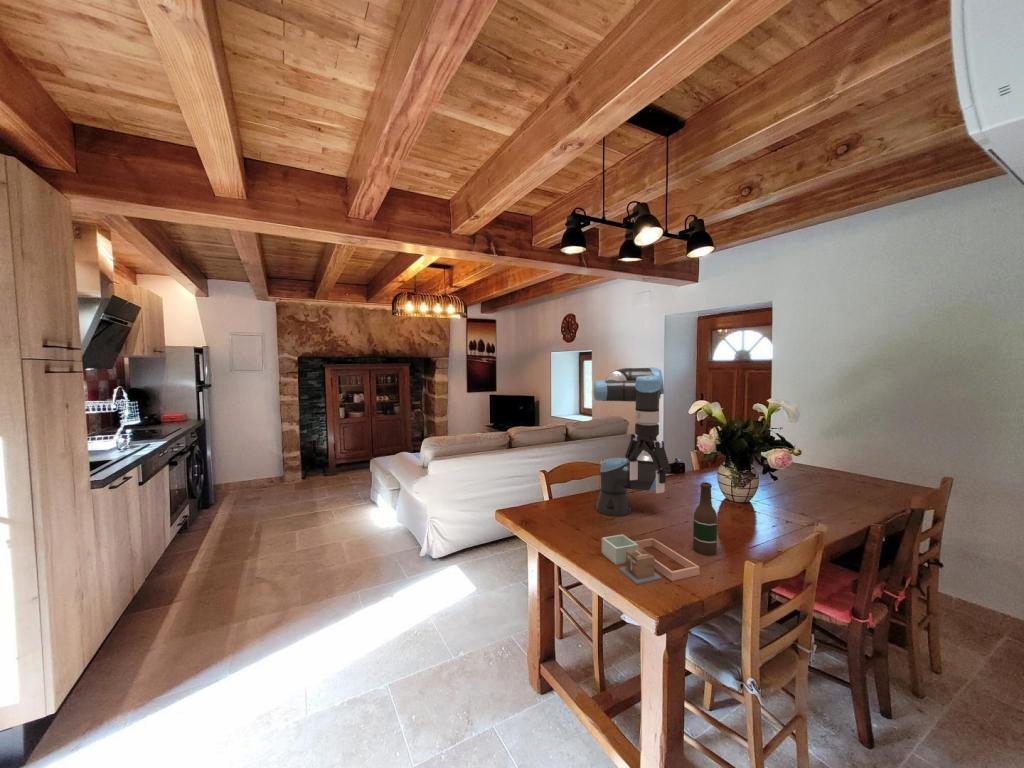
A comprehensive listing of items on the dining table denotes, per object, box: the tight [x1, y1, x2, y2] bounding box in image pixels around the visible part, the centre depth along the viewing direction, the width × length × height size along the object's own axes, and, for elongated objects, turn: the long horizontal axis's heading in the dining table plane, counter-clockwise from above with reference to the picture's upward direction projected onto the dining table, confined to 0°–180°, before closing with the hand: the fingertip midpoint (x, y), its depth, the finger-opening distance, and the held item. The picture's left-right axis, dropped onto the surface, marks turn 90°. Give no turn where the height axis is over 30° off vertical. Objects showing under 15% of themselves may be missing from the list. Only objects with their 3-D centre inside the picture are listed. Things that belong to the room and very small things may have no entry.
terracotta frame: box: [633, 537, 701, 582], centre depth 127 cm, size 22×11×2 cm, turn 19°
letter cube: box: [625, 548, 655, 579], centre depth 119 cm, size 6×6×6 cm
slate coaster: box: [618, 566, 663, 586], centre depth 119 cm, size 9×9×1 cm
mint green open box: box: [601, 533, 638, 566], centre depth 130 cm, size 9×9×6 cm
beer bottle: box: [692, 481, 718, 557], centre depth 134 cm, size 8×8×24 cm
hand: (646, 485), depth 129 cm, fingers open, 13 cm apart
